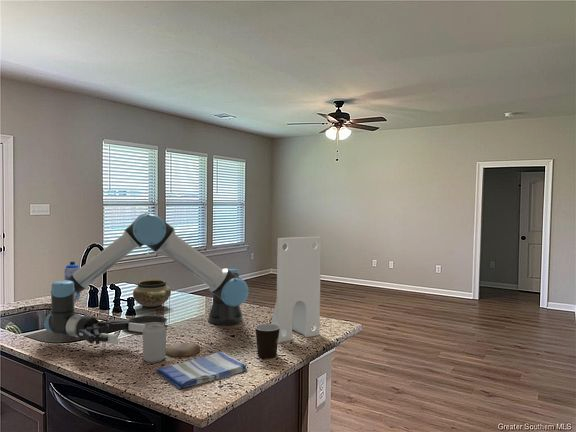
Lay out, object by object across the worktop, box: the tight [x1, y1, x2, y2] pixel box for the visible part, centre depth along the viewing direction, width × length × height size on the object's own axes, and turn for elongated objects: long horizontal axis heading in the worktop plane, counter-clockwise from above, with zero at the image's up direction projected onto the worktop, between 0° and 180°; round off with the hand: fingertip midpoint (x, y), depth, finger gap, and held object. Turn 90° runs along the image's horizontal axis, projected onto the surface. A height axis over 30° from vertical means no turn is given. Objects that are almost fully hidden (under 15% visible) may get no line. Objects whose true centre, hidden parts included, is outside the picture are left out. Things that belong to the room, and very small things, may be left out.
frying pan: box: [127, 315, 168, 333], centre depth 173 cm, size 18×32×4 cm, turn 23°
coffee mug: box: [254, 323, 280, 360], centre depth 149 cm, size 12×9×10 cm
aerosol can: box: [64, 261, 82, 301], centre depth 227 cm, size 8×8×20 cm
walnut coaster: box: [166, 342, 201, 358], centre depth 151 cm, size 12×12×1 cm
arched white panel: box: [270, 236, 322, 344], centre depth 172 cm, size 20×14×40 cm
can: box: [142, 322, 167, 364], centre depth 142 cm, size 8×8×12 cm
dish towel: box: [155, 351, 248, 391], centre depth 133 cm, size 17×24×3 cm
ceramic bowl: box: [132, 279, 172, 311], centre depth 211 cm, size 24×18×15 cm
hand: (131, 333), depth 146 cm, fingers open, 13 cm apart
